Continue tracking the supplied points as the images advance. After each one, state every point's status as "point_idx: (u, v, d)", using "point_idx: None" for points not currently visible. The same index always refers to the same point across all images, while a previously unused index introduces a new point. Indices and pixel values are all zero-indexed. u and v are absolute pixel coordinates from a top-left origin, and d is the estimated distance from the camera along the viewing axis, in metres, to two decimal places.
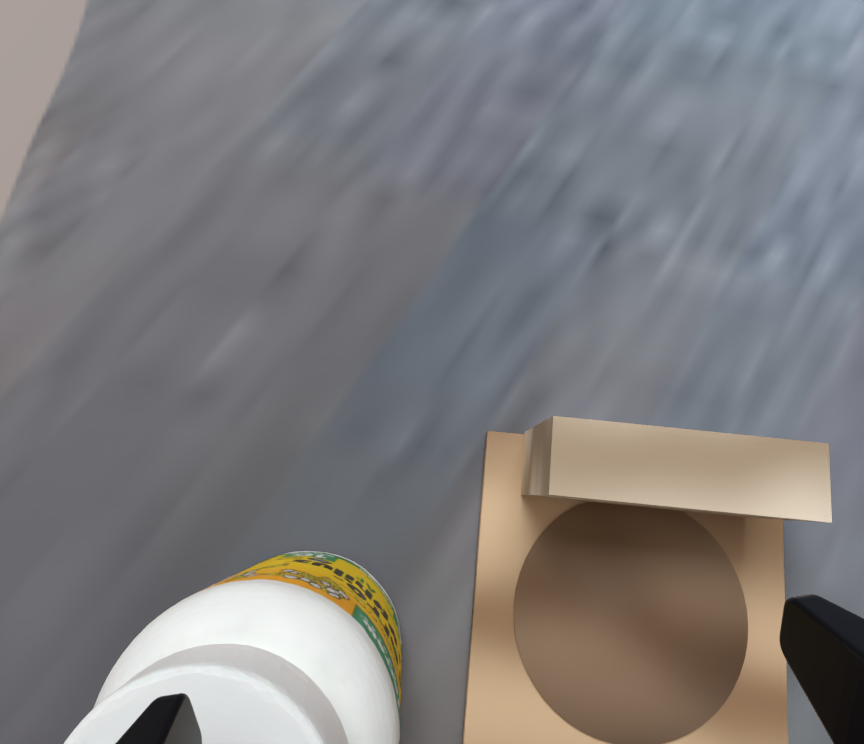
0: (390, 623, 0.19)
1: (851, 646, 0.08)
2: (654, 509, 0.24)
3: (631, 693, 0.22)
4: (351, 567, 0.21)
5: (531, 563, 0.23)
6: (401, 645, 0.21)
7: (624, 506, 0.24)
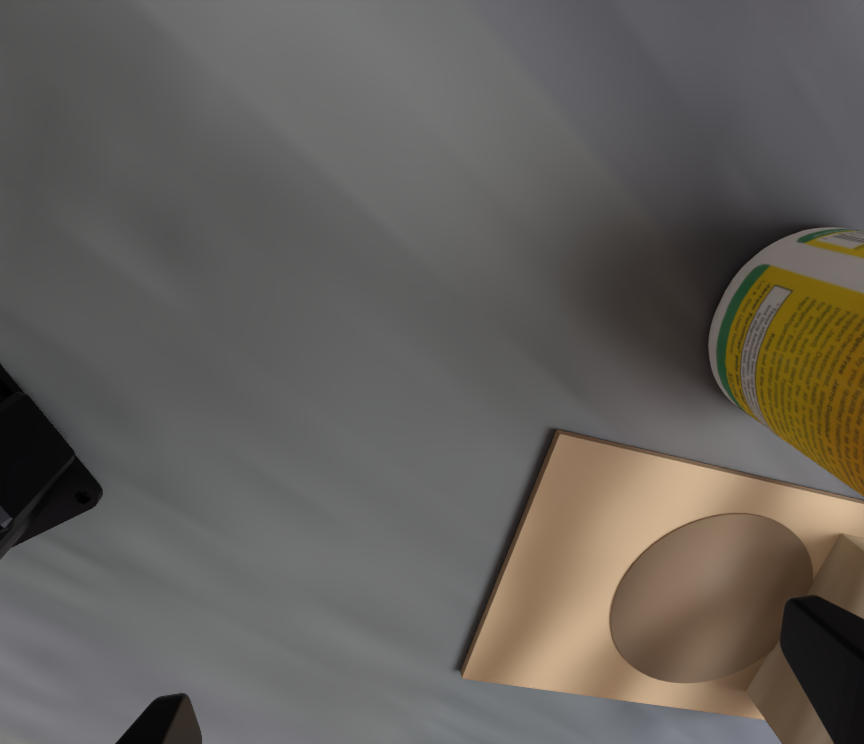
0: None
1: (851, 646, 0.08)
2: None
3: (656, 595, 0.25)
4: None
5: (784, 534, 0.25)
6: None
7: None
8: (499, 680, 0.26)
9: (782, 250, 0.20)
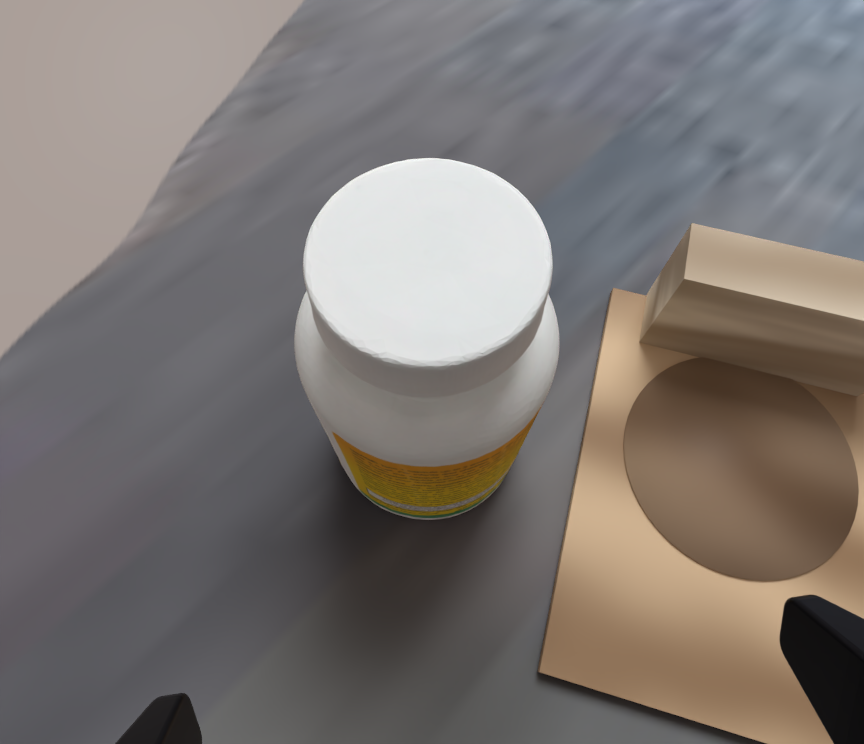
0: None
1: (851, 646, 0.08)
2: (766, 373, 0.25)
3: (736, 528, 0.22)
4: None
5: (644, 399, 0.25)
6: None
7: (737, 366, 0.25)
8: None
9: (349, 476, 0.22)
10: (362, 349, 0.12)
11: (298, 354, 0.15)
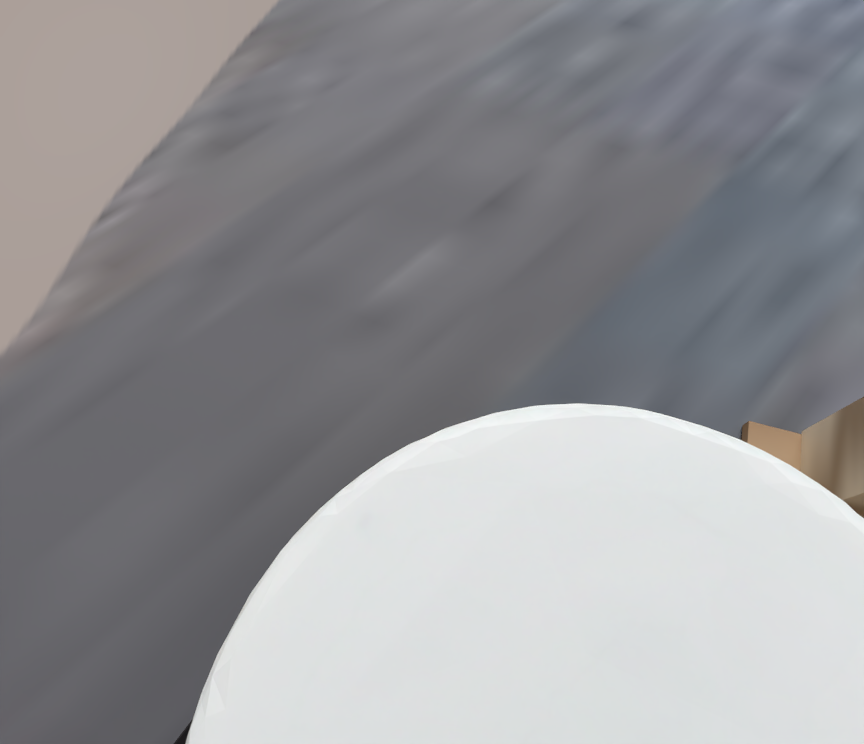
0: None
1: None
2: None
3: None
4: None
5: None
6: None
7: None
8: None
9: None
10: None
11: None
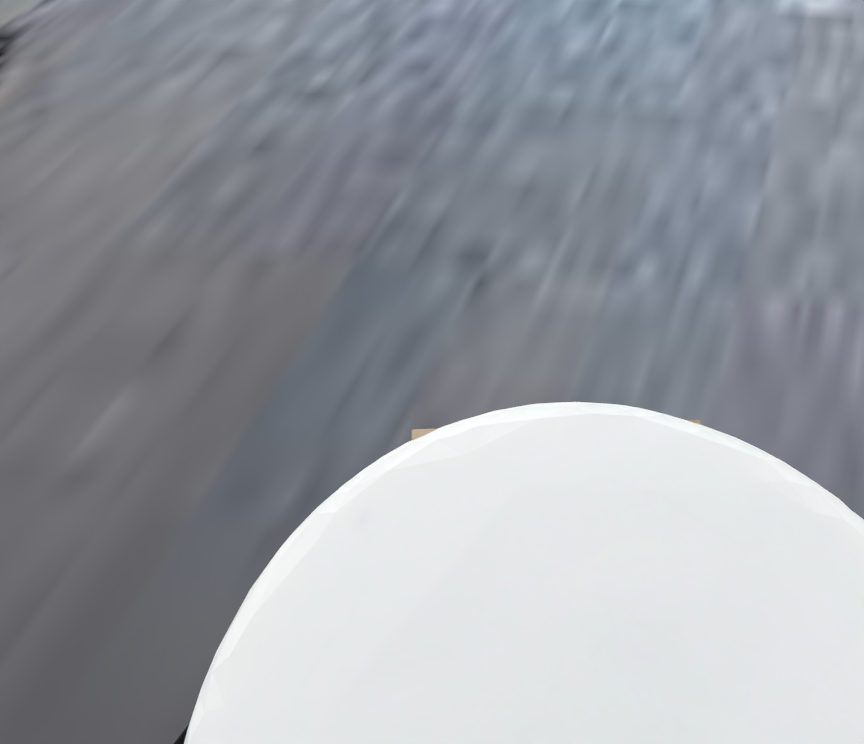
0: None
1: None
2: None
3: None
4: None
5: None
6: None
7: None
8: None
9: None
10: None
11: None
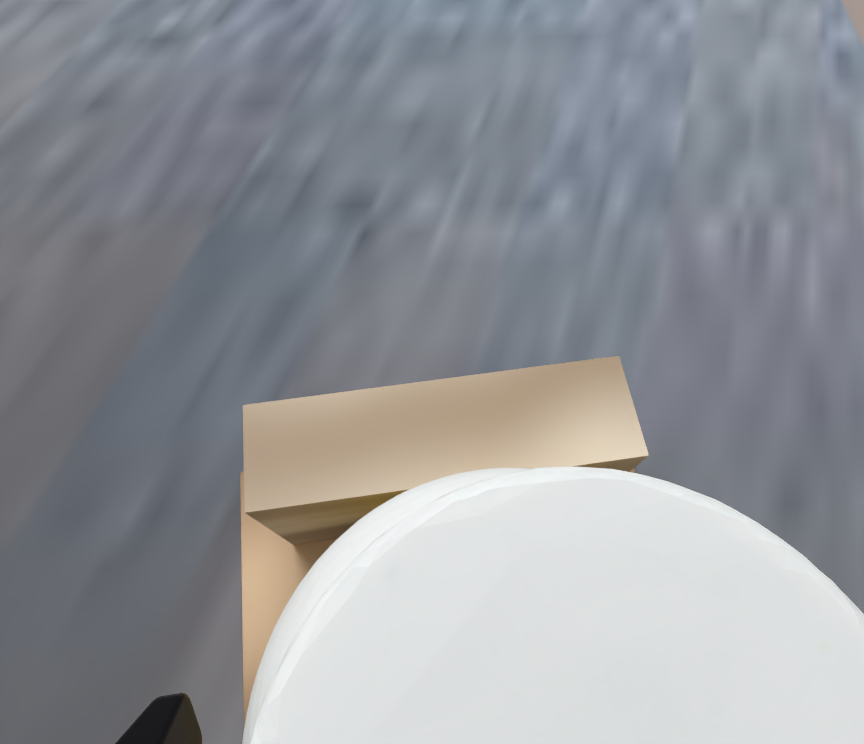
0: None
1: None
2: None
3: None
4: None
5: None
6: None
7: None
8: None
9: None
10: None
11: None
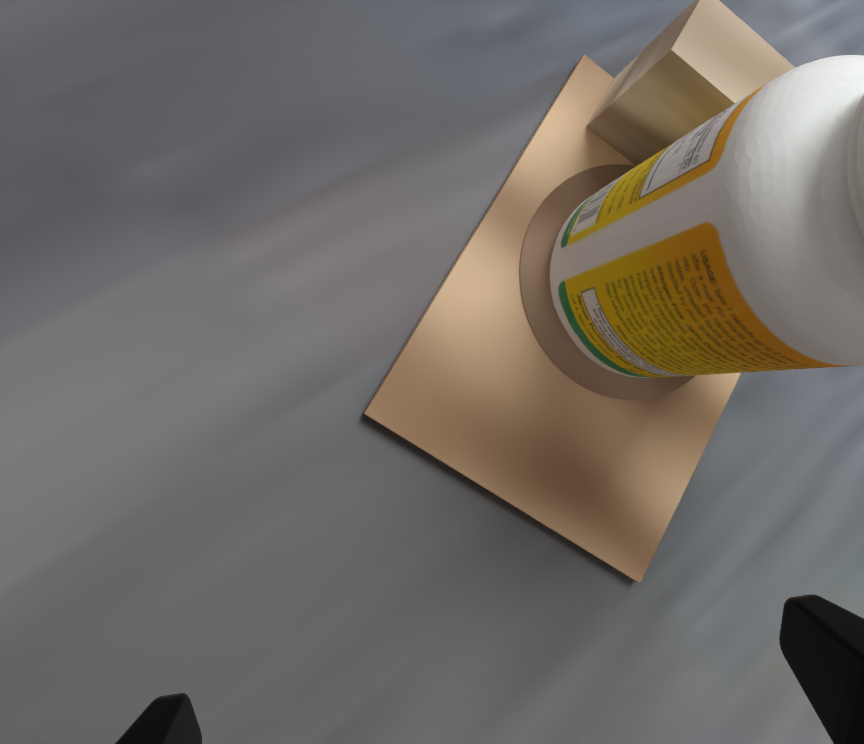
0: None
1: (851, 646, 0.08)
2: None
3: None
4: None
5: (567, 188, 0.22)
6: None
7: None
8: (656, 540, 0.22)
9: (560, 262, 0.20)
10: None
11: (761, 123, 0.13)
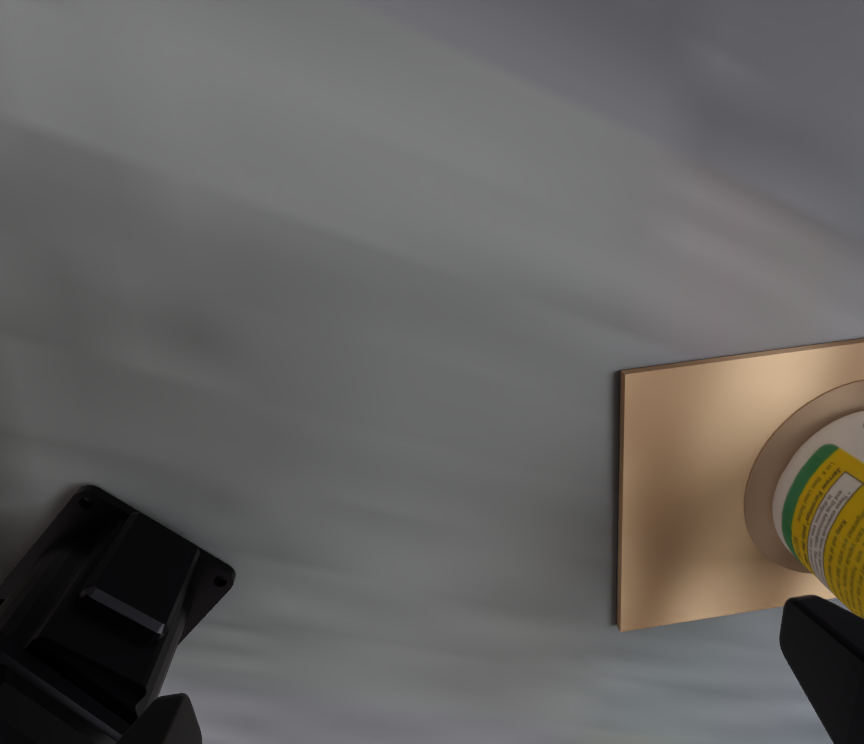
0: None
1: (851, 646, 0.08)
2: None
3: None
4: None
5: None
6: None
7: None
8: (658, 622, 0.26)
9: (849, 432, 0.22)
10: None
11: None
